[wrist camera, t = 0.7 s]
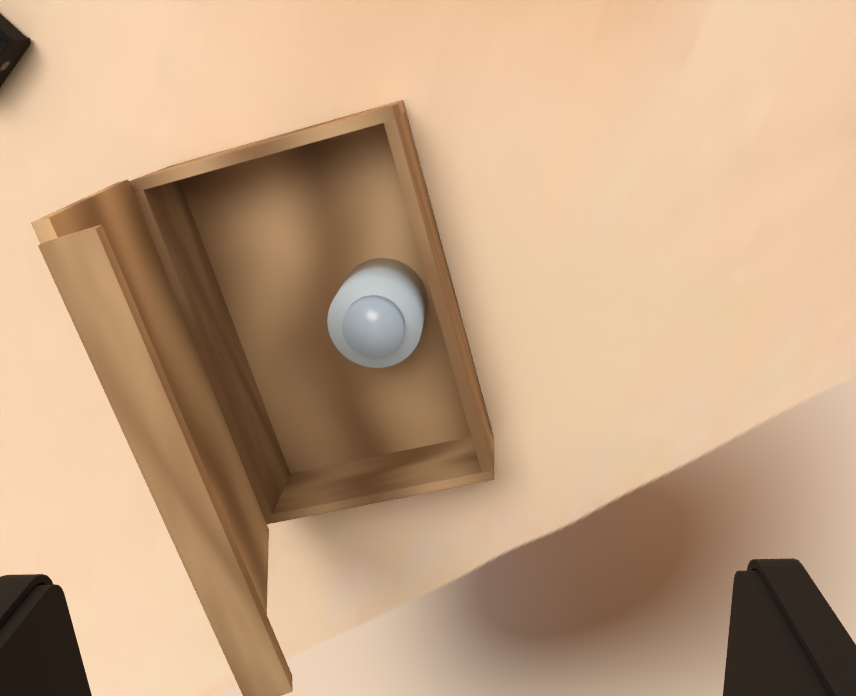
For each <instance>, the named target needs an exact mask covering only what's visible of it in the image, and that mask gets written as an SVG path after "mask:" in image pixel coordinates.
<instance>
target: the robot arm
mask: <svg viewBox="0 0 856 696" xmlns="http://www.w3.org/2000/svg"><path fill="white" fill-rule="evenodd" d="M0 696H92V695H91V691H90V688H89V684H88V680H87V677H86V673H85V669H84V665H83V662H82V658H81V654H80V651H79V647H78V643H77V639H76V636H75V632H74V628H73V625H72V621H71V617H70V614H69V610H68V606H67V602H66V599H65V595H64V592H63V590H62V588H61V587H60V586H59V585H53V583H52V580H51V579H50V578H49V577H48V576H47V575H43V574H35V575H5V576H2V577H0ZM723 696H856V645H855V643H854V642H853V640H852V639H851V637H850V636H849V634H848V633H847V631H846V630H845V628H844V627H843V625H842V624H841V622H840V621H839V619H838V618H837V616H836V615H835V613H834V612H833V610H832V609H831V607H830V606H829V604H828V603H827V601H826V600H825V598H824V597H823V595H822V594H821V592H820V591H819V589H818V588H817V586H816V585H815V583H814V582H813V580H812V579H811V577H810V576H809V574H808V573H807V571H806V570H805V569H804V567H803V566H802V564H801V563H800V562H799V561H798V560H796V559H754V560H751V561H750V563H749V564H748V568H747V571H737V572H736V574H735V577H734V584H733V595H732V605H731V616H730V626H729V637H728V649H727V658H726V669H725V680H724V691H723Z"/></svg>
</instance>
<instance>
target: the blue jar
mask: <svg viewBox="0 0 856 696" xmlns="http://www.w3.org/2000/svg"><path fill="white" fill-rule="evenodd" d="M427 303H428V299H427V292H426V289H425V286H424V284H423V282H422V280H421V278H420V277H419V275H418V274H417V273H416V272H415V271H414V270H413V269H412V268H411V267H409V266H408V265H406V264H404V263H402V262H400V261H398V260H395V259H390V258H375V259H371V260H367V261H365V262H363V263H361V264H359V265H358V266H356V267H355V268H354V269H353V270H352V271H351V272H350V273H349V275H348V276H347V278H346V279H345V281H344V283H343V284H342V286H341V288H340V289H339V291H338V293H337V294H336V296H335V297H334V299H333V301H332V303H331V305H330V308H329V311H328V319H327V324H328V330H329V334H330V337H331V339H332V341H333V343H334V345H335V346H336V348H337V349H338V350H339V351H340V352H341V353H342V354H343V355H344V356H345V357H346V358H347V359H349V360H351V361H352V362H354V363H356V364H359V365H362V366H365V367H370V368H384V367H389V366H393V365H395V364H397V363H400V362H401V361H403V360H404V359H406V358H407V357H408V356H409V355H410V354H411V353H412V352H413V351H414V349H415V348H416V346H417V344H418V342H419V340H420V337H421V333H422V328H423V324H424V319H425V315H426V310H427Z"/></svg>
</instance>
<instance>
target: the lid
mask: <svg viewBox="0 0 856 696" xmlns="http://www.w3.org/2000/svg"><path fill="white" fill-rule="evenodd" d="M31 224H32V226H33V228H34V230H35V233H36V235H37V237H38V239H39V241H40V244H41V245H39V249H40V251H41V253H42V255H43V257H44V259H45V262H46V264H47V266H48V268H49V270H50V273H51V275H52V277H53V279H54V281H55V284H56V286H57V288H58V290H59V292H60V295H61V297H62V299H63V301H64V303H65V306H66V308H67V310H68V312H69V314H70V317H71V319H72V321H73V323H74V325H75V328H76V330H77V332H78V334H79V336H80V339H81V341H82V343H83V345H84V347H85V350H86V352H87V354H88V356H89V358H90V361H91V363H92V365H93V367H94V369H95V371H96V374H97V376H98V378H99V380H100V382H101V385H102V387H103V389H104V391H105V393H106V396H107V398H108V400H109V402H110V404H111V407H112V409H113V411H114V413H115V415H116V418H117V420H118V422H119V424H120V426H121V429H122V431H123V433H124V435H125V437H126V440H127V442H128V444H129V446H130V448H131V451H132V453H133V455H134V457H135V459H136V462H137V464H138V466H139V468H140V470H141V473H142V475H143V477H144V479H145V481H146V483H147V486H148V488H149V490H150V492H151V494H152V497H153V499H154V501H155V503H156V505H157V508H158V510H159V512H160V514H161V516H162V519H163V521H164V523H165V525H166V527H167V530H168V532H169V534H170V536H171V538H172V541H173V543H174V545H175V547H176V549H177V552H178V554H179V556H180V558H181V560H182V563H183V565H184V567H185V569H186V571H187V574H188V576H189V578H190V580H191V582H192V584H193V587H194V589H195V591H196V593H197V595H198V598H199V600H200V602H201V604H202V606H203V609H204V611H205V613H206V615H207V617H208V620H209V622H210V624H211V626H212V628H213V631H214V633H215V635H216V637H217V639H218V642H219V644H220V646H221V648H222V650H223V653H224V655H225V657H226V659H227V661H228V664H229V666H230V668H231V670H232V672H233V675H234V677H235V679H236V681H237V683H238V686H239V688H240V690H241V692H242V694H243V696H281V695H284V694H287V693H290V692H292V674H291V672H290V670H289V667H288V665H287V662H286V660H285V658H284V655H283V653H282V650H281V648H280V646H279V643H278V641H277V639H276V636H275V634H274V632H273V629H272V627H271V624H270V622H269V620H268V617H267V579H268V542H269V529H268V527H267V524H266V522H265V519H264V517H263V514H262V512H261V509H260V507H259V504H258V502H257V499H256V497H255V494H254V492H253V489H252V487H251V484H250V482H249V480H248V477H247V475H246V472H245V470H244V467H243V465H242V462H241V460H240V457H239V455H238V452H237V450H236V447H235V445H234V442H233V440H232V437H231V435H230V432H229V430H228V427H227V425H226V422H225V420H224V417H223V415H222V412H221V410H220V407H219V405H218V402H217V400H216V397H215V395H214V392H213V390H212V387H211V385H210V382H209V380H208V377H207V375H206V373H205V370H204V368H203V365H202V363H201V360H200V358H199V355H198V353H197V350H196V348H195V345H194V343H193V340H192V338H191V335H190V333H189V330H188V328H187V325H186V323H185V320H184V318H183V315H182V313H181V310H180V308H179V305H178V303H177V300H176V298H175V295H174V293H173V290H172V288H171V285H170V283H169V280H168V278H167V275H166V273H165V270H164V268H163V265H162V263H161V261H160V258H159V256H158V253H157V251H156V248H155V246H154V243H153V241H152V238H151V236H150V233H149V231H148V228H147V226H146V223H145V221H144V218H143V216H142V213H141V211H140V208H139V206H138V203H137V201H136V198H135V196H134V193H133V191H132V188H131V186H130V183H129V181H128V180H125V181H122V182H118V183H116V184H113V185H111V186H109V187H107V188H105V189H103V190H101V191H98V192H96V193H94V194H92V195H90V196H88V197H86V198H83V199H81V200H79V201H77V202H75V203H73V204H71V205H68V206H66V207H64V208H62V209H60V210H58V211H56V212H53V213H51V214H49V215H47V216H45V217H43V218H41V219H38V220H36V221H34V222H32V223H31Z"/></svg>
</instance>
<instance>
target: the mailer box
mask: <svg viewBox="0 0 856 696" xmlns="http://www.w3.org/2000/svg"><path fill="white" fill-rule="evenodd" d="M129 183H130V186H131V188H132V191H133V193H134V196H135V198H136V201H137V203H138V206H139V208H140V211H141V213H142V216H143V218H144V221H145V223H146V226H147V228H148V231H149V233H150V236H151V238H152V241H153V243H154V246H155V248H156V251H157V253H158V256H159V258H160V261H161V263H162V265H163V268H164V270H165V273H166V275H167V278H168V280H169V283H170V285H171V288H172V290H173V293H174V295H175V298H176V300H177V303H178V305H179V308H180V310H181V313H182V315H183V318H184V320H185V323H186V325H187V328H188V330H189V333H190V335H191V338H192V340H193V343H194V345H195V348H196V350H197V353H198V355H199V358H200V360H201V363H202V365H203V368H204V370H205V373H206V375H207V377H208V380H209V382H210V385H211V387H212V390H213V392H214V395H215V397H216V400H217V402H218V405H219V407H220V410H221V412H222V415H223V417H224V420H225V422H226V425H227V427H228V430H229V432H230V435H231V437H232V440H233V442H234V445H235V447H236V450H237V452H238V455H239V457H240V460H241V462H242V465H243V467H244V470H245V472H246V475H247V477H248V480H249V482H250V484H251V487H252V489H253V492H254V494H255V497H256V499H257V502H258V504H259V507H260V509H261V512H262V514H263V517H264V519H265V522H266V524H270V523H276V522H281V521H286V520H291V519H296V518H301V517H306V516H311V515H316V514H321V513H326V512H331V511H336V510H342V509H347V508H352V507H357V506H362V505H367V504H372V503H377V502H382V501H387V500H392V499H397V498H402V497H408V496H413V495H418V494H423V493H428V492H433V491H438V490H443V489H448V488H453V487H458V486H463V485H469V484H474V483H479V482H484V481H489V480H494V445H493V433H492V429H491V425H490V422H489V418H488V414H487V411H486V407H485V403H484V400H483V396H482V392H481V388H480V385H479V381H478V377H477V374H476V370H475V366H474V362H473V359H472V355H471V351H470V348H469V344H468V340H467V336H466V333H465V329H464V325H463V322H462V318H461V314H460V310H459V307H458V303H457V299H456V296H455V292H454V288H453V284H452V281H451V277H450V273H449V270H448V266H447V262H446V258H445V255H444V251H443V247H442V244H441V240H440V236H439V232H438V229H437V225H436V221H435V218H434V214H433V210H432V207H431V203H430V199H429V195H428V192H427V188H426V184H425V181H424V177H423V173H422V169H421V166H420V162H419V158H418V155H417V151H416V147H415V143H414V140H413V136H412V132H411V129H410V125H409V121H408V117H407V114H406V110H405V106H404V103H403V100H402V101H398V102H395V103H391V104H388V105H384V106H381V107H377V108H374V109H370V110H367V111H363V112H360V113H356V114H353V115H349V116H346V117H342V118H338V119H335V120H331V121H328V122H324V123H321V124H317V125H314V126H310V127H307V128H303V129H300V130H296V131H293V132H289V133H285V134H282V135H278V136H275V137H271V138H268V139H264V140H261V141H257V142H254V143H250V144H247V145H243V146H240V147H236V148H233V149H229V150H225V151H222V152H218V153H215V154H211V155H208V156H204V157H201V158H197V159H194V160H190V161H187V162H183V163H180V164H176V165H172V166H169V167H166V168H163V169H161V170H158V171H155V172H153V173H150V174H147V175H145V176H142V177H140V178H137V179H134V180H132V181H129ZM375 258H390V259H395V260H398V261H400V262H402V263H404V264H406V265H408V266H409V267H411V268H412V269H413V270H414V271H415V272H416V273H417V274H418V275H419V277H420V278H421V280H422V282H423V284H424V286H425V289H426V292H427V299H428V303H427V310H426V315H425V319H424V324H423V328H422V333H421V337H420V340H419V342H418V344H417V346H416V348H415V349H414V351H413V352H412V353H411V354H410V355H409V356H408V357H407V358H406V359H404V360H403V361H401V362H400V363H397V364H395V365H393V366H389V367H384V368H370V367H365V366H362V365H359V364H356V363H354V362H352V361H351V360H349V359H347V358H346V357H345V356H344V355H343V354H342V353H341V352H340V351H339V350H338V349H337V348H336V346H335V345H334V343H333V341H332V339H331V337H330V334H329V330H328V324H327V319H328V311H329V308H330V305H331V303H332V301H333V299H334V297H335V296H336V294H337V293H338V291H339V289H340V288H341V286H342V284H343V283H344V281H345V279H346V278H347V276H348V275H349V273H350V272H351V271H352V270H353V269H354V268H355V267H356V266H358V265H359V264H361V263H363V262H365V261H367V260H371V259H375Z"/></svg>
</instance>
